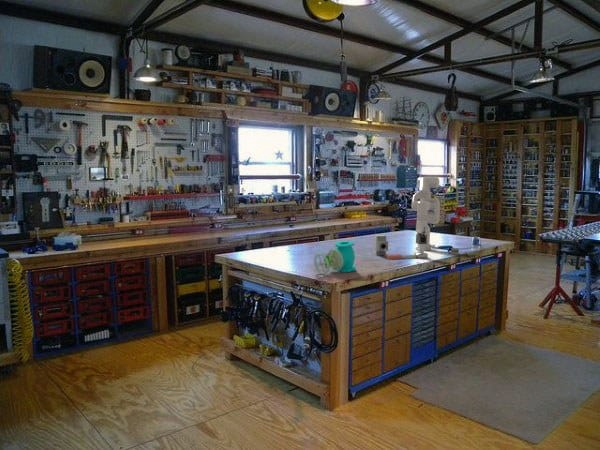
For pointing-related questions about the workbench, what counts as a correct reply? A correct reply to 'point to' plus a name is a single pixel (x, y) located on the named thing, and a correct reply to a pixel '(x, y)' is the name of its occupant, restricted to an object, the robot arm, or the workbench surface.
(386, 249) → the circuit breaker
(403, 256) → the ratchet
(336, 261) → the valve
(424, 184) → the robot arm
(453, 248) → the workbench surface
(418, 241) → the socket
